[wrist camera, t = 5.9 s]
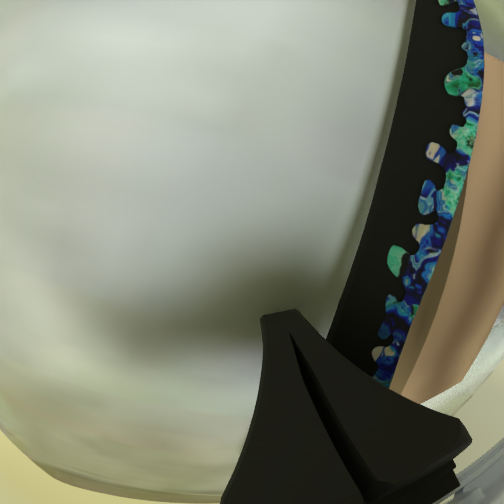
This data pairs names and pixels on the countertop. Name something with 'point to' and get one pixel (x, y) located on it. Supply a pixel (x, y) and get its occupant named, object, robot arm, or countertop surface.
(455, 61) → the knife
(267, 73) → the countertop surface
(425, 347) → the walnut board
